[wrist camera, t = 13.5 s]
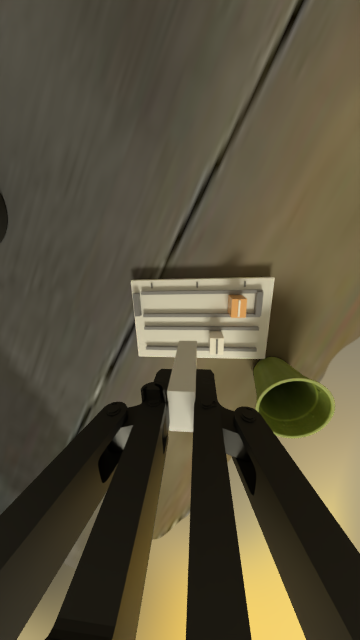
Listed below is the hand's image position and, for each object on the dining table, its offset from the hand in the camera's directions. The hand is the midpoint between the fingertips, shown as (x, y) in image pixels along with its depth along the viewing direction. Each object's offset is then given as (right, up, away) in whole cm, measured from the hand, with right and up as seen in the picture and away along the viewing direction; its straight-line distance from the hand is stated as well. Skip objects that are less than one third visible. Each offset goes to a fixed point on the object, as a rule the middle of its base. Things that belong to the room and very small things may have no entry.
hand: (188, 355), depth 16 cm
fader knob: (+9, +6, +18) cm, 22 cm away
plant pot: (+19, -8, +24) cm, 32 cm away
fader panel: (+3, +3, +22) cm, 23 cm away
